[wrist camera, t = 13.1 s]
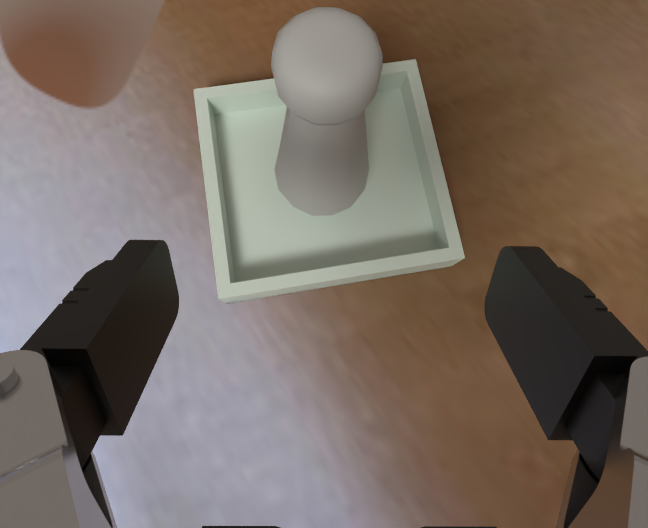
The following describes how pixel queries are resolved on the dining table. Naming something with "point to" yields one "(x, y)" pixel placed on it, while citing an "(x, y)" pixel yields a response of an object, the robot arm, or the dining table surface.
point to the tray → (326, 230)
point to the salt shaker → (324, 107)
